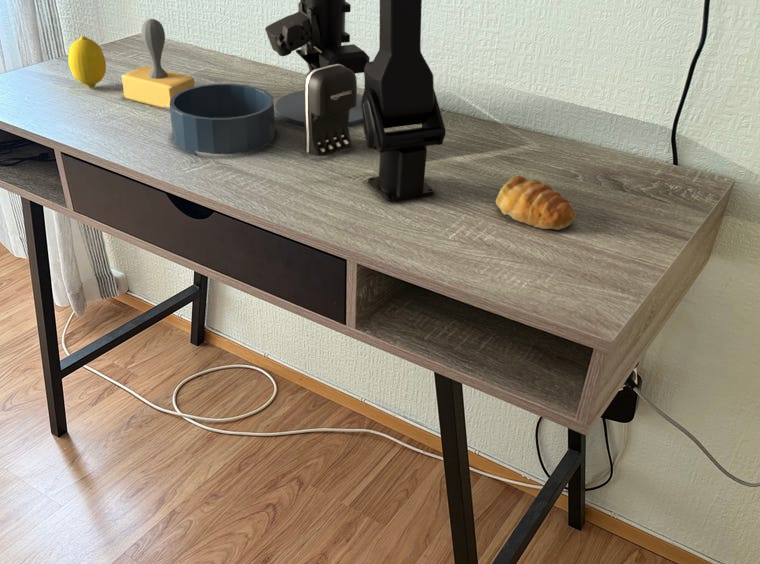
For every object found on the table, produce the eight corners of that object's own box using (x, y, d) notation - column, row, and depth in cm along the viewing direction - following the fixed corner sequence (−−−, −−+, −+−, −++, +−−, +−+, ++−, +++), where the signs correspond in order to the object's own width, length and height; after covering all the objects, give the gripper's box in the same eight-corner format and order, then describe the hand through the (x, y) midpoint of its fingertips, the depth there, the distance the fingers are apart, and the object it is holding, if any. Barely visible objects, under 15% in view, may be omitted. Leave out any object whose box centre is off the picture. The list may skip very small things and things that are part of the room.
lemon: (66, 91, 130) (57, 39, 125) (85, 80, 134) (76, 29, 129) (97, 95, 128) (89, 43, 123) (115, 84, 133) (108, 33, 128)
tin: (288, 149, 113) (288, 111, 110) (188, 163, 109) (184, 125, 105) (256, 114, 124) (254, 79, 121) (163, 126, 119) (159, 89, 116)
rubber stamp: (197, 100, 128) (190, 20, 120) (173, 111, 124) (164, 29, 116) (148, 88, 131) (138, 9, 124) (123, 98, 127) (111, 18, 120)
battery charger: (320, 163, 110) (320, 77, 103) (302, 154, 112) (301, 70, 105) (359, 150, 114) (362, 67, 107) (341, 142, 116) (342, 60, 109)
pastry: (584, 221, 98) (590, 192, 96) (552, 240, 94) (558, 210, 92) (520, 195, 104) (525, 167, 101) (488, 212, 100) (491, 183, 97)
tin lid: (390, 124, 122) (392, 89, 119) (296, 137, 117) (295, 101, 114) (349, 91, 133) (350, 59, 130) (262, 102, 128) (260, 69, 125)
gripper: (249, -17, 119) (254, 90, 128) (294, 16, 105) (296, 133, 114) (320, -22, 122) (320, 82, 132) (373, 9, 109) (368, 123, 118)
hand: (324, 104), depth 124 cm, fingers closed on tin lid, 2 cm apart
